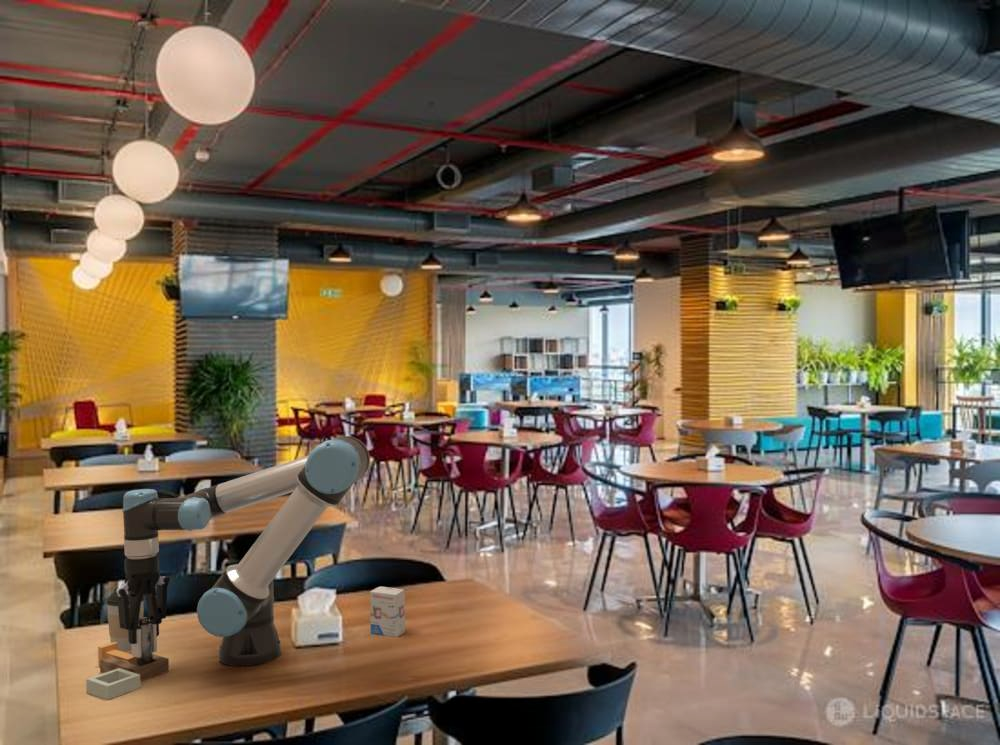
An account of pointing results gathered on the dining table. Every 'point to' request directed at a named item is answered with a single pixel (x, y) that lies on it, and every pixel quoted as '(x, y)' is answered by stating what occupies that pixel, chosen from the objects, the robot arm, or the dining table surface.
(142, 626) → the dark grey cylinder
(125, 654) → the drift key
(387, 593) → the ink box
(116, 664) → the socket block
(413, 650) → the dining table surface
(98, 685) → the square frame
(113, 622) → the coffee cup
